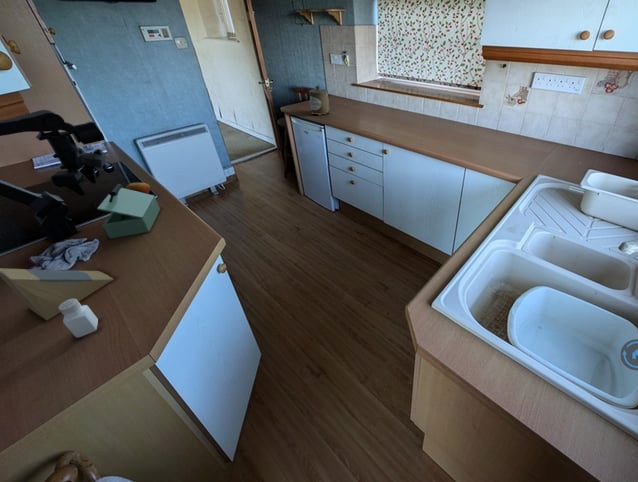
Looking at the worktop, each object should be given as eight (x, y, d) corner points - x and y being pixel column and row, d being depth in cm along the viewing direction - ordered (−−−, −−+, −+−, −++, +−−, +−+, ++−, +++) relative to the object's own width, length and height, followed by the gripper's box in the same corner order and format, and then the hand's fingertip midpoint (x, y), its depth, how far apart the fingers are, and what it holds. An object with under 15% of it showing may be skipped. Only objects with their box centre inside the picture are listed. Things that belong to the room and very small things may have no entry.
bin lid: (96, 209, 96) (100, 197, 95) (115, 187, 109) (118, 176, 107) (142, 218, 103) (145, 207, 101) (154, 196, 115) (157, 186, 114)
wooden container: (307, 113, 241) (304, 85, 230) (322, 109, 251) (319, 83, 240) (319, 116, 233) (316, 88, 222) (333, 113, 243) (331, 85, 231)
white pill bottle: (97, 331, 72) (77, 305, 67) (76, 339, 70) (53, 314, 65) (99, 319, 75) (80, 294, 70) (78, 327, 73) (57, 302, 68)
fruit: (122, 202, 120) (120, 182, 119) (134, 201, 127) (131, 183, 127) (145, 199, 121) (142, 180, 121) (155, 199, 129) (153, 181, 129)
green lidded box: (110, 238, 102) (102, 225, 99) (125, 214, 115) (119, 202, 112) (149, 231, 106) (142, 218, 103) (160, 209, 118) (154, 197, 115)
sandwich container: (115, 279, 86) (89, 240, 79) (47, 321, 74) (9, 279, 67) (98, 270, 89) (72, 231, 82) (30, 309, 77) (-8, 268, 70)
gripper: (82, 156, 93) (106, 197, 101) (106, 137, 108) (125, 174, 116) (37, 161, 89) (64, 203, 97) (68, 140, 104) (90, 179, 112)
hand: (89, 189), depth 106 cm, fingers open, 9 cm apart
